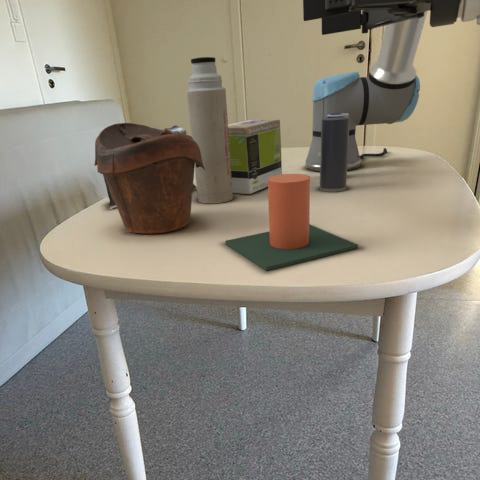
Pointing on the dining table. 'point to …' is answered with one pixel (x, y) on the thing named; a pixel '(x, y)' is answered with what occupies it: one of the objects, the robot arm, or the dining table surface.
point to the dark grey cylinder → (334, 154)
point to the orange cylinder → (289, 210)
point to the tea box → (254, 154)
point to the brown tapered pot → (148, 175)
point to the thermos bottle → (210, 131)
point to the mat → (273, 258)
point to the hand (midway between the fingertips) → (313, 18)
